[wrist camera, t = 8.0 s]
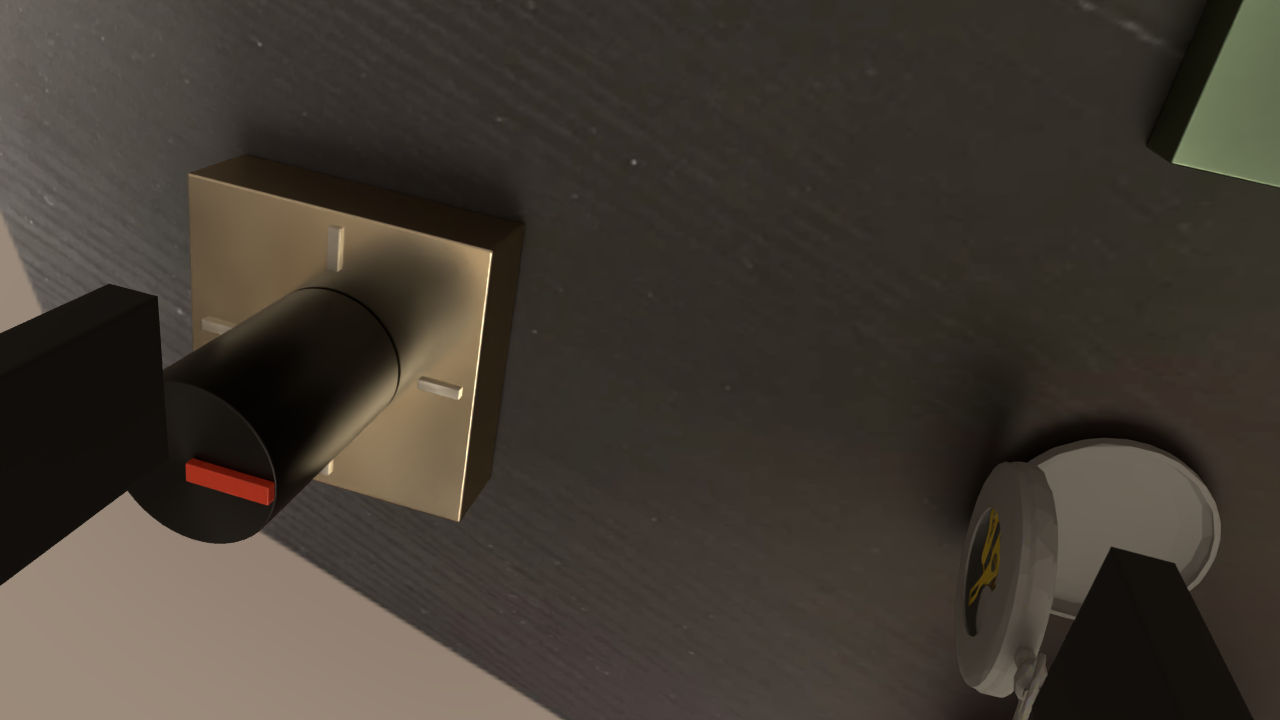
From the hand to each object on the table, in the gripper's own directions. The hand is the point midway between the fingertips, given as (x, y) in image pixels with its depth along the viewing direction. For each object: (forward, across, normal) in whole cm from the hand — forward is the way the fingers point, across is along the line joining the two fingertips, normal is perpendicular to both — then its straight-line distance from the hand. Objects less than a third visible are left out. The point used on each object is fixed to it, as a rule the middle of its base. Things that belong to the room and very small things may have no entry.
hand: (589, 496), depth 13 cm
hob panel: (+17, -12, -8) cm, 22 cm away
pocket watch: (+18, +12, -8) cm, 23 cm away
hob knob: (+14, -12, -8) cm, 20 cm away
